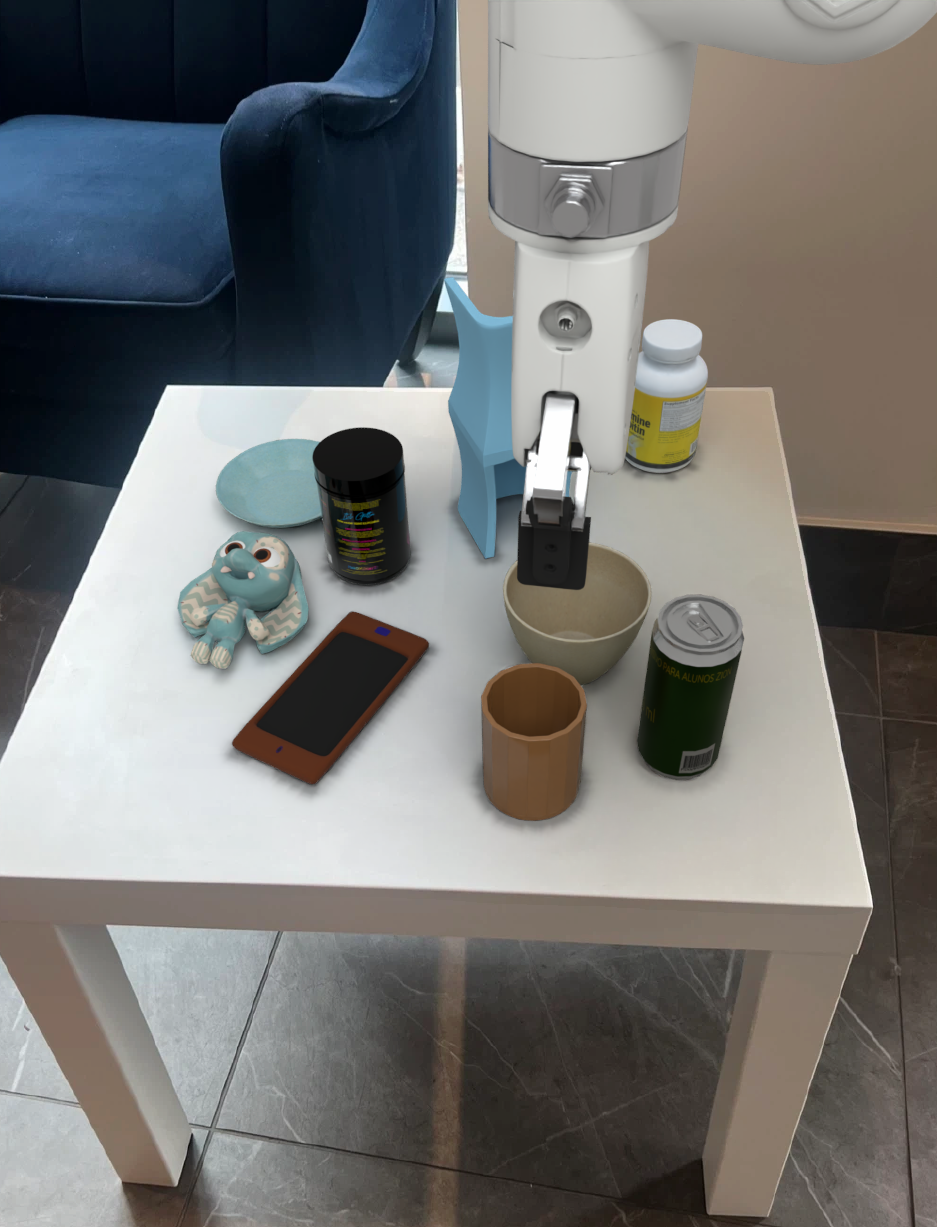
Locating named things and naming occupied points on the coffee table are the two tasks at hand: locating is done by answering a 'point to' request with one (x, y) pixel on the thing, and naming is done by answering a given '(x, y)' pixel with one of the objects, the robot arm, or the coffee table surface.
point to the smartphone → (330, 697)
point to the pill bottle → (667, 397)
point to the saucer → (272, 484)
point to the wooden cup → (532, 740)
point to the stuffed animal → (244, 598)
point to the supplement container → (363, 504)
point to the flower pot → (581, 615)
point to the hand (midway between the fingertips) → (563, 519)
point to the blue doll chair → (483, 417)
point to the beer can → (689, 685)
